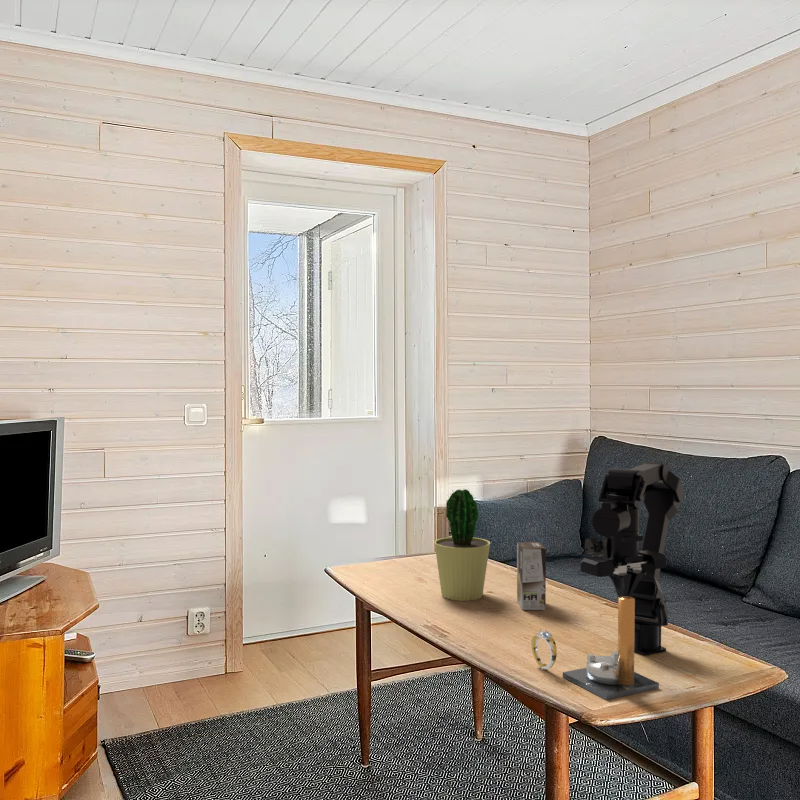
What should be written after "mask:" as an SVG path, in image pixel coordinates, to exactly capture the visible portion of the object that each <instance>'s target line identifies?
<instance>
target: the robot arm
mask: <svg viewBox="0 0 800 800" xmlns="http://www.w3.org/2000/svg"><path fill="white" fill-rule="evenodd" d="M669 469H670V468H669V467H668V464H666V463H664V462H658V461H657V462H656V461H654V462H653V461H646V462H643V463H642V464H640V465H637V466H635V467H632V468H629V469H627V468H616V467H615V468H612V467H611V468H609V470H608V472H607V473H605V476H604V479H603V482H602V486H601V489H600V494H599V498H598V502H599V503H601V508H599V509H597V510H596V511H595V512H594V514H593V516H592V519H591V522H592V523H591V524H592V526H593V529H594V531H595V532H596V533H597V534H598V535H600V536H601V537H604V539H603V540H598V539H597V538H596V537H589V538H585V539H584V550H585V553H586V554H587V555H591V557H584V558H582V560H581V561H580V572H581V573H586V574H589V575H592V576H595V577H597V578H598V577H599V578H602V577H609V578H610V579H611V581H612V584H613V586H614V589H615V592H616V595H617V598H618V597H620V596H629V597H633V598H635V627H634V652H636V653H639V654H641V655H645V656H646V655H651V654H652V655H653V654H657V653H661V652H666V651H667V648H666V647H664V646H662V627H663V626H668V625H669V619H670V618H669V610H668V608H667V606H666V603H665V600H664V593H663V590H662V588H661V585H660V582H659V578H660V573H661V569H667V558H666V557H665V555H664V552H665V545H666V540H667V536H668V529H669V525H670V521H671V520H672V519H673V518H674V517H675V516H676V515H677V514H678V512H679V511H680V506H681V503H683V501H684V497H685V496H684V495H685V492H684V487H683V484H682V482H681V480H680V478H679V477H678V476H677V475H675V474H674V473H673V472H672V471H670V470H669ZM642 499H643V504H644V506H645V509H646V511H647V514H648V516H647V520H646V526H645V530H644V535H641V534H640V533H639V531H640V529H639V527H640V526H639V525H640V521H639V520H640V506H641V502H642ZM641 541H642V546H641V550H639V544H640V543H639V542H641Z"/></svg>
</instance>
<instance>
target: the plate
mask: <svg viewBox="0 0 800 800" xmlns="http://www.w3.org/2000/svg"><path fill="white" fill-rule="evenodd" d="M562 678H563V679H566V680H567V681H569V682H571V683H573V684H575V685H576V686H578V687H580V688H583V689H584V690H586V691H589V692H590V693H592V694H594V695H595V696H597V697H600V698H602V699H603V700H606V701H608V700H612V699H613V700H615V699H618V698H621V697H627V696H630V695H631V696H632V695H635V694H640V693H645V692H649V691H653V690H658V689H659V688H660V683H659V682H658V681H655V680H654V679H651V678H648V677H646V676H644V675H642V674H640V673H637V672H636V671H634V684H632V685H623V684H621V685H611V684H603V683H599V682H596V681H593V680H591V679H590V678H588V677H587V667H583V668H582V667H581V668H579V669H577V668H576V669H573V670H568V671H563V672H562Z"/></svg>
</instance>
